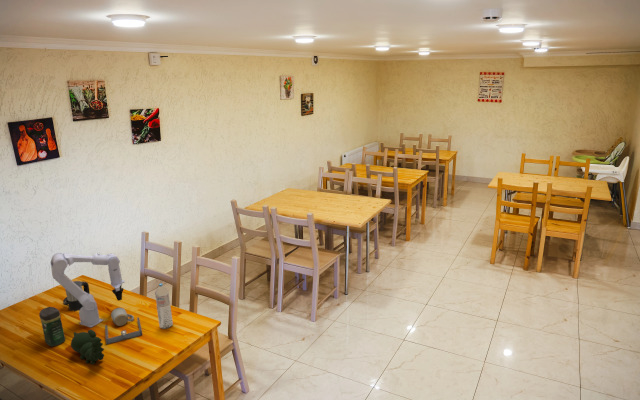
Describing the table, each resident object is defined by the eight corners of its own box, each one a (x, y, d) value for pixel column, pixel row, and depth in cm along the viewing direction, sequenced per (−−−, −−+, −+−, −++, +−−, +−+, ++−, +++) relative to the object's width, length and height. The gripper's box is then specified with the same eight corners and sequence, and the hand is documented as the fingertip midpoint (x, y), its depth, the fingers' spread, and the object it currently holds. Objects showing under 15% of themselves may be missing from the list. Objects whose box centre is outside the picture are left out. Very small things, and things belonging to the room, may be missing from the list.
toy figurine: (111, 364, 208) (85, 341, 222) (107, 330, 201) (80, 310, 215) (91, 374, 201) (66, 350, 214) (86, 340, 194) (60, 318, 208)
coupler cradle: (105, 329, 233) (104, 322, 232) (139, 321, 240) (138, 314, 239) (106, 345, 219) (105, 337, 218) (142, 335, 227) (141, 328, 226)
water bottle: (175, 323, 237) (170, 282, 230) (166, 330, 231) (160, 288, 224) (166, 321, 240) (160, 280, 233) (156, 327, 234) (150, 285, 227)
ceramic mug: (115, 328, 234) (113, 316, 231) (111, 322, 240) (110, 309, 238) (135, 322, 240) (134, 309, 237) (132, 316, 246) (130, 303, 244)
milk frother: (80, 311, 251) (76, 288, 247) (54, 311, 252) (49, 288, 248) (93, 299, 265) (89, 276, 261) (68, 299, 265) (63, 277, 261)
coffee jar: (68, 341, 223) (61, 309, 218) (51, 348, 217) (44, 316, 212) (59, 334, 229) (52, 303, 224) (43, 342, 223) (35, 310, 218)
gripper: (123, 278, 237) (127, 300, 241) (122, 268, 249) (126, 289, 253) (109, 281, 234) (114, 304, 238) (108, 271, 246) (113, 292, 250)
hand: (119, 297), depth 245 cm, fingers open, 7 cm apart
